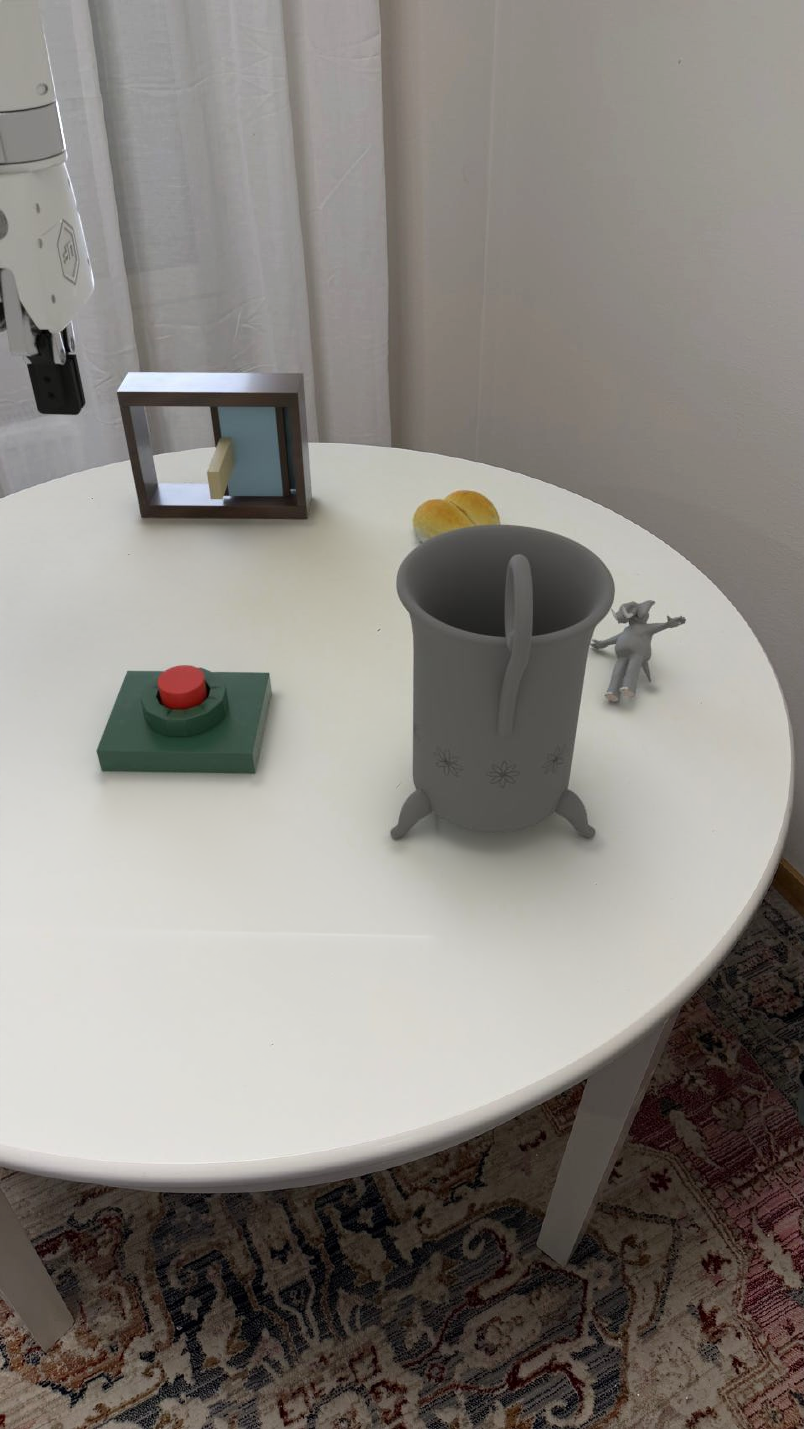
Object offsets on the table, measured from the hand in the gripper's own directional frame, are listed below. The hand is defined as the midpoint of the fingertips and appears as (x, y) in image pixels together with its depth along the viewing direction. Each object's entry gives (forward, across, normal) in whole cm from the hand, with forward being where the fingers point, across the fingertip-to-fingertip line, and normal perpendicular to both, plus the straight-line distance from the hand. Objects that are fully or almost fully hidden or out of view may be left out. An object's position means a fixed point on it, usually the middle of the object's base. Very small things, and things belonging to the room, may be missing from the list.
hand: (62, 409), depth 76 cm
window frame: (+22, +26, -6) cm, 35 cm away
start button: (+19, -11, -9) cm, 23 cm away
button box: (+22, -11, -9) cm, 26 cm away
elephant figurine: (+22, -3, -46) cm, 51 cm away
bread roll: (+22, +21, -31) cm, 43 cm away
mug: (+22, -19, -33) cm, 44 cm away
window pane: (+20, +21, -9) cm, 31 cm away
